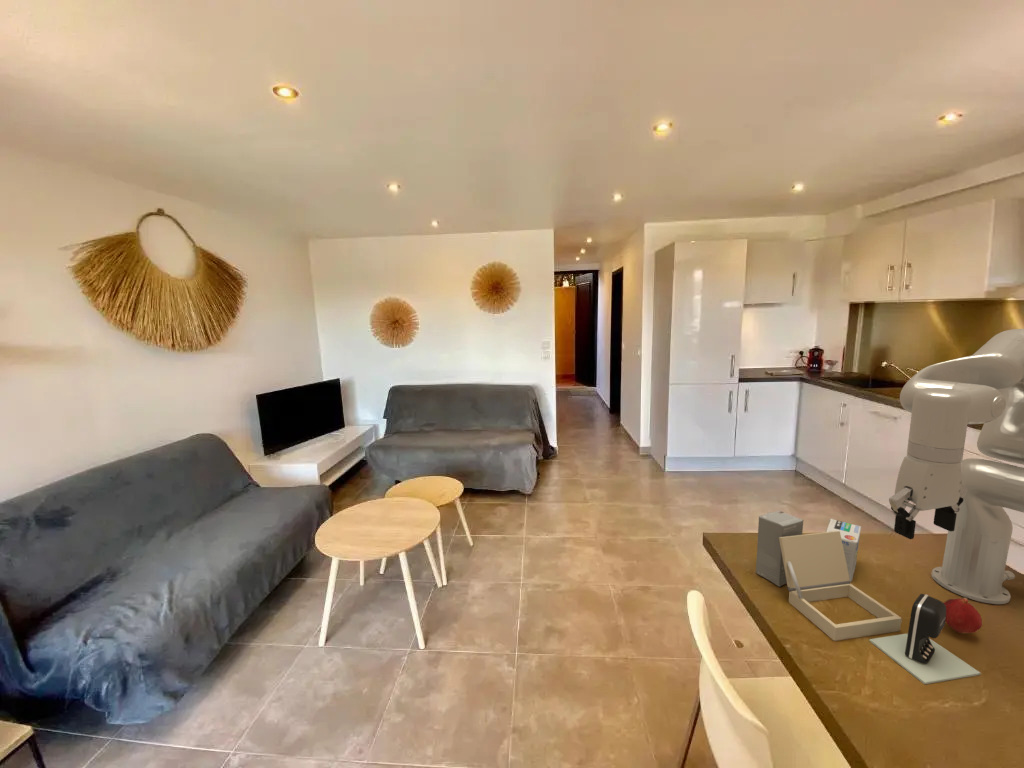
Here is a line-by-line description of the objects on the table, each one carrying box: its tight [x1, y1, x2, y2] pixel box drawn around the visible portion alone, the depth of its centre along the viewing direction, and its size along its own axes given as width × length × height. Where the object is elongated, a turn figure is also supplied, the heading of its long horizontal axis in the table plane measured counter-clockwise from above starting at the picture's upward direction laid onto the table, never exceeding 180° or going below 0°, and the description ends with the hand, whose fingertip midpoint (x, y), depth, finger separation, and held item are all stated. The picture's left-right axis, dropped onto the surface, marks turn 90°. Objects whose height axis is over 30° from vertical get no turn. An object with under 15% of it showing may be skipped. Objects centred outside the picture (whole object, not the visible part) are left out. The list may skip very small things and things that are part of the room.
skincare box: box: [755, 510, 804, 587], centre depth 103 cm, size 8×7×16 cm
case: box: [779, 531, 903, 642], centre depth 91 cm, size 16×16×14 cm
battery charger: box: [905, 593, 946, 664], centre depth 78 cm, size 7×4×11 cm, turn 123°
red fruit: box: [943, 597, 983, 634], centre depth 84 cm, size 6×6×8 cm
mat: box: [868, 632, 982, 685], centre depth 79 cm, size 12×10×1 cm
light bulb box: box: [825, 518, 862, 582], centre depth 105 cm, size 11×7×11 cm, turn 136°
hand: (923, 531), depth 82 cm, fingers open, 9 cm apart
